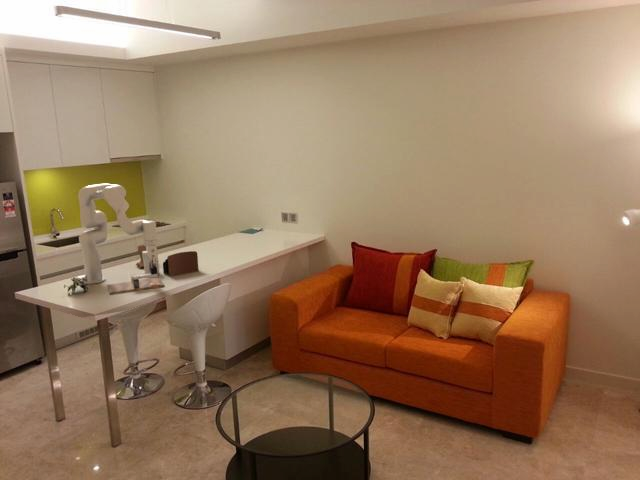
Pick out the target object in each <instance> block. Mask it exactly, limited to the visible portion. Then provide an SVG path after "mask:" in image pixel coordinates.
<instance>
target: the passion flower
mask: <svg viewBox="0 0 640 480" xmlns="http://www.w3.org/2000/svg"><path fill="white" fill-rule="evenodd" d="M80 277H81V276H80ZM81 278H82V279H83V280H85V281H87V280H86V279H85V278H83V277H81ZM70 280H71V281H72V284H71V285H69V286H66V284H64V286H63V288H64V289H65V288H67V292H68V293H69V291H71V295H73V293H74V292H75V291H76V289H77V287H78V286H79V287H80V288H81V289H83V291H84V292H85V293H87V292H88V289H89V288H90V287H89V284H85V283H84V282H83V280H79V279H77V277H72V278H70Z"/></svg>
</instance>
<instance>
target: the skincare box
mask: <svg viewBox="0 0 640 480" xmlns="http://www.w3.org/2000/svg"><path fill="white" fill-rule="evenodd" d="M142 255H143V263H144V267H143V270H144V274H150V273H151V272H150V268H149V261H148V258H147V251H142ZM156 266H157V274H160V269H159V261H158V262H156Z"/></svg>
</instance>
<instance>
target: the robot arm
mask: <svg viewBox="0 0 640 480" xmlns="http://www.w3.org/2000/svg"><path fill="white" fill-rule="evenodd" d="M126 196H127V191H126V189H125V187H124V186H123V185H120V184H111V183H97V184H91V185H87V186H83V187H82V188H81V189H80V190H79V191H78V202H79V211H80V214H79V216H80V225H81V227H82V228H83V229H88V230H84V231H82V232H80V234H79V236H78V242H79V245H80V249H81V252H82V259H83V267H84V275H81V276H77V277H76V278H77V279H79V280H80V281H82V280H83V279H82V278H81V277H83V278H85V279H86V280H87V281H85V280H83V282H84V283H85V284H87V285H89V284H90V285H92V284H93V285H94V284H100V283H103V282H104V281H106V277H105V276H103V271H102V264H101V263H102V262H101V254H100V253H101V252H100V251H99V250H100V249H99V248H98V247H97V245H99V244H103V243H105V242H106V241H107V239H108V218H107V215H106V214H105V212H103V211H102V210H97V209H96V208H97V207H96V204H95V201H94V200H100V199H104V201H106V202H107V203H108V205H109V206H110V207H111V208H112V209H113V210H114V212H115V213H116V220H117V223H118V225H119V227H120V228H121V229H122V230H123V231H124V232H125V234H126V235H129V236H135V235H138V234H142V239H143V244H144V246H146V249H147V258H148V261H149V268H150V263H151V274H152V275H153V274H158V273H157V266H156V262H158V263H159V256H158V255H159V254H158V248H157V245H158V234H157V232H158V231H157V222H156V221H155V220H145V219H138V220H134V221H131V220H130V219H129V217H128V216H127V214H126V212H127V210H128V209H129V207H130V204H129V203H128V201H127V200H126V199H125V197H126ZM152 263H153V264H152Z"/></svg>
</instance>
